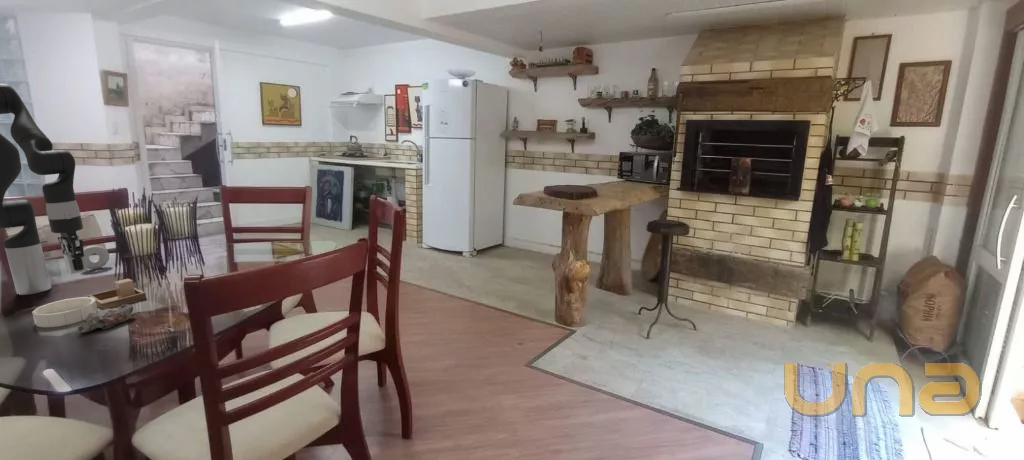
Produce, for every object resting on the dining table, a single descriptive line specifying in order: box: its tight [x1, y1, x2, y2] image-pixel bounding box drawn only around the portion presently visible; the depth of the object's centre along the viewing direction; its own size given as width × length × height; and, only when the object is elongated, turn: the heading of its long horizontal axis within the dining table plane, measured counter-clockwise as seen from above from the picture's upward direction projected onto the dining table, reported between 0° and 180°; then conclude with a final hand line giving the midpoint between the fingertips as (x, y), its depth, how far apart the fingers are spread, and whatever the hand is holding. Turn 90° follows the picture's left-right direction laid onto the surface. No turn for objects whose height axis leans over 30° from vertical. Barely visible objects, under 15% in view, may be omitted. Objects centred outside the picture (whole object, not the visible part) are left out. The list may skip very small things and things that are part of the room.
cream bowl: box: [31, 296, 99, 328], centre depth 154 cm, size 14×14×4 cm
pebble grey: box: [62, 252, 89, 275], centre depth 156 cm, size 4×4×6 cm
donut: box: [83, 245, 110, 270], centre depth 204 cm, size 10×4×10 cm, turn 140°
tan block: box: [114, 278, 136, 299], centre depth 170 cm, size 4×4×6 cm
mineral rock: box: [76, 303, 134, 334], centre depth 148 cm, size 15×8×4 cm, turn 144°
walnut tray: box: [87, 286, 147, 310], centre depth 168 cm, size 14×12×2 cm
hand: (76, 268), depth 156 cm, fingers closed on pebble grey, 4 cm apart
